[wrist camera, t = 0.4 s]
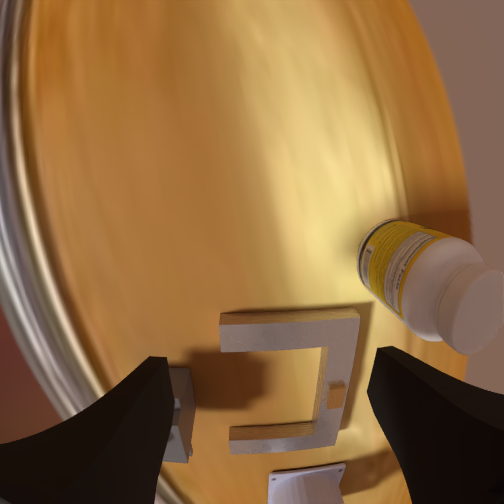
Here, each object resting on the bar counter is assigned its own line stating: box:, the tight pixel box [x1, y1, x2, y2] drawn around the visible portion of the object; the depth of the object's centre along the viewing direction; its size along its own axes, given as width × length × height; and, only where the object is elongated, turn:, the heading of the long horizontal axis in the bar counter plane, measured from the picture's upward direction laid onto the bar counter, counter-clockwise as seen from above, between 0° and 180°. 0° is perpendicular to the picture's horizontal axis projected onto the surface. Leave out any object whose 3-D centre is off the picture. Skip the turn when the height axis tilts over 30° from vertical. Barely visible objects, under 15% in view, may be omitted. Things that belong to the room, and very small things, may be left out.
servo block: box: [163, 367, 196, 463], centre depth 18 cm, size 6×4×7 cm, turn 1°
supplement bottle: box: [357, 219, 504, 355], centre depth 14 cm, size 5×5×10 cm
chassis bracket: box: [219, 307, 361, 454], centre depth 20 cm, size 13×9×2 cm
